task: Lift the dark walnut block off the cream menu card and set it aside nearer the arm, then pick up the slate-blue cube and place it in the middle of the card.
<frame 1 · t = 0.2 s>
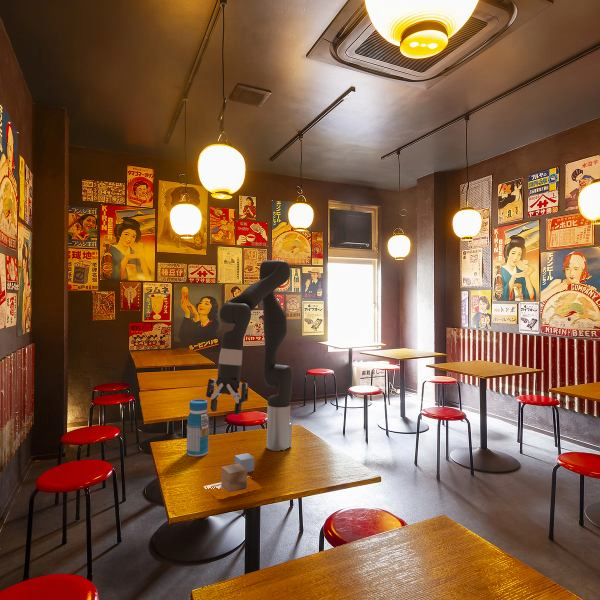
hand: (225, 413, 139), 22 cm above the table, tool pointing down, fingers open, 8 cm apart
menu card: (233, 488, 134), on the table
slate cube: (244, 470, 148), on the table
beverage bottle: (197, 453, 163), on the table
walnut block: (234, 487, 134), resting on menu card
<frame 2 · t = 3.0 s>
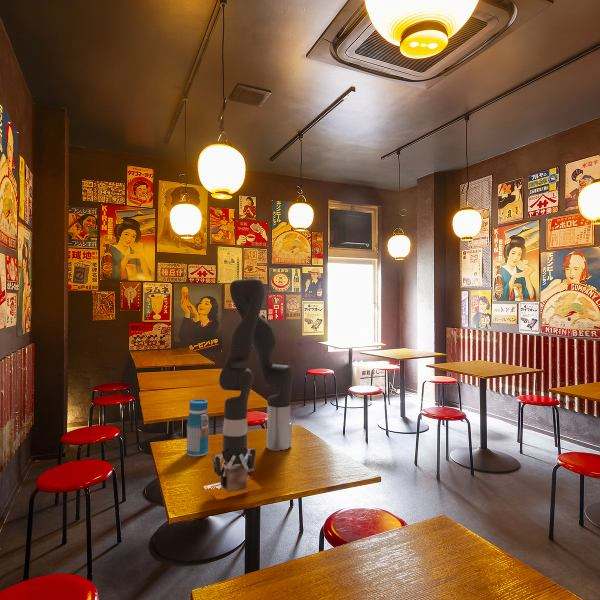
hand: (234, 484, 134), 1 cm above the table, tool pointing down, fingers closed on walnut block, 6 cm apart
walnut block: (234, 487, 134), resting on menu card, touching gripper
everything else where it was.
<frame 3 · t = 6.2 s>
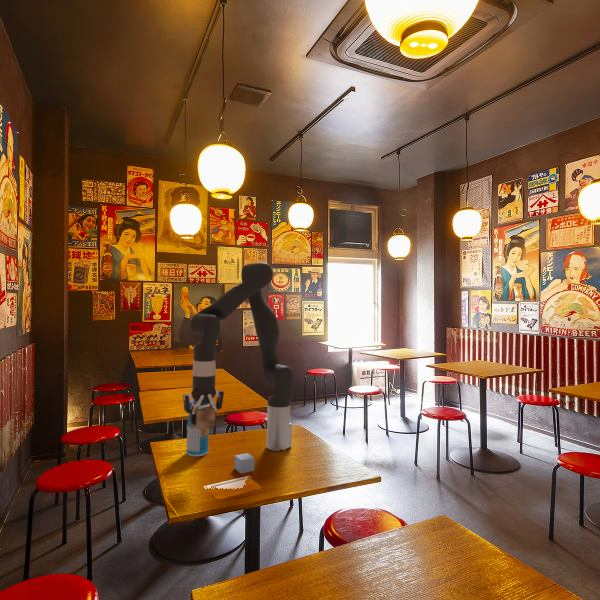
hand: (203, 423, 143), 17 cm above the table, tool pointing down, fingers closed on walnut block, 6 cm apart
walnut block: (203, 425, 143), point 17 cm above the table, touching gripper
everything else where it was.
when the fingers open (2 cm above the table, at t = 9.7 s): walnut block drops 1 cm, on the table.
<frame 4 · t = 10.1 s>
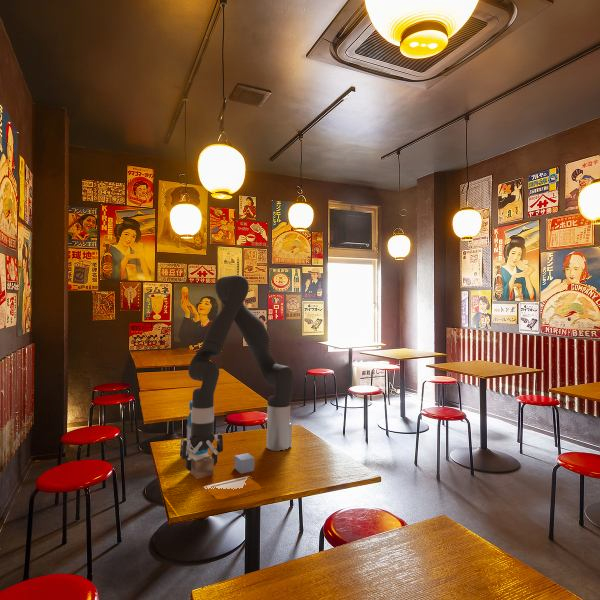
hand: (201, 467, 143), 3 cm above the table, tool pointing down, fingers open, 8 cm apart
walnut block: (201, 475, 144), on the table
everything else where it was.
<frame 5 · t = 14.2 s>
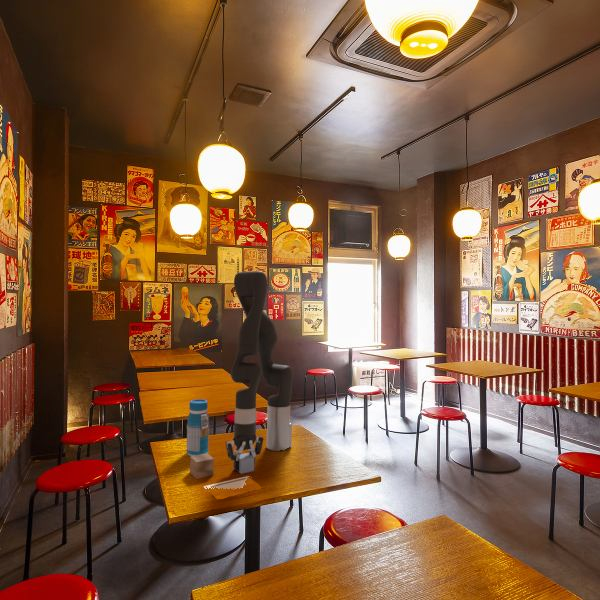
hand: (244, 468, 148), 1 cm above the table, tool pointing down, fingers closed on slate cube, 5 cm apart
slate cube: (244, 470, 148), on the table, touching gripper
everything else where it was.
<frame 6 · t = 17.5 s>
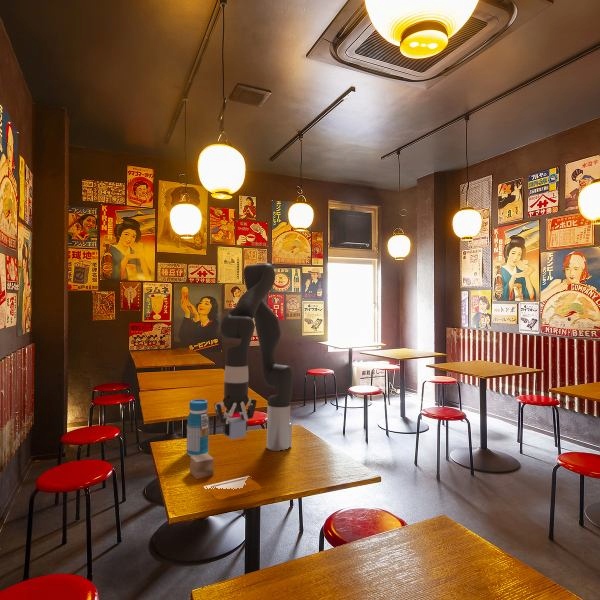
hand: (235, 433, 134), 17 cm above the table, tool pointing down, fingers closed on slate cube, 5 cm apart
slate cube: (235, 435, 134), point 17 cm above the table, touching gripper
everything else where it was.
when the fingers open (2 cm above the table, at t = 20.8 s): slate cube stays where it is, resting on menu card.
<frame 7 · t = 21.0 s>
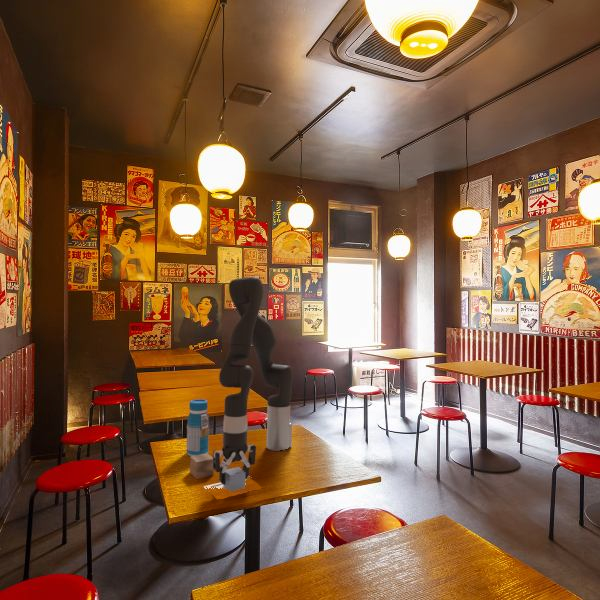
hand: (234, 481, 134), 2 cm above the table, tool pointing down, fingers open, 7 cm apart
slate cube: (234, 487, 134), resting on menu card
everything else where it was.
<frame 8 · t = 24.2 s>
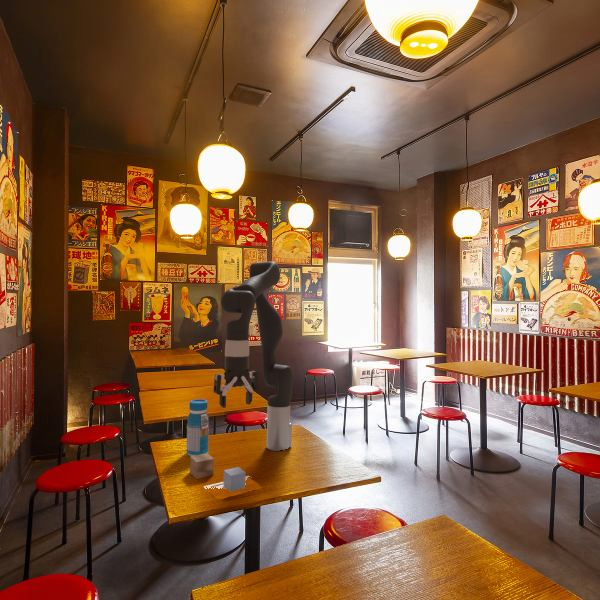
hand: (235, 405, 134), 26 cm above the table, tool pointing down, fingers open, 8 cm apart
nothing on the table moved.
at the end: slate cube inside the target area on the menu card (0.1 cm from its centre), point 0.4 cm above the menu card's base; walnut block touching table; slate cube tilted 0° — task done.
